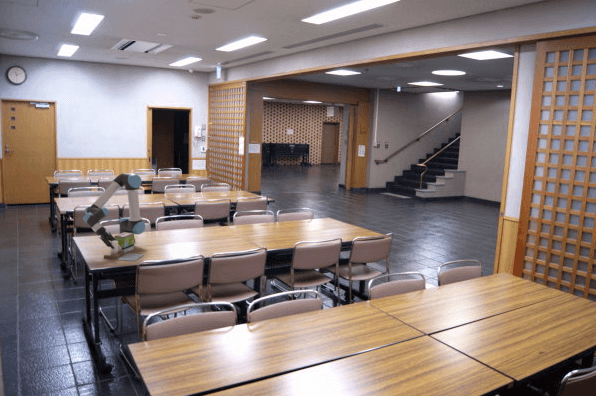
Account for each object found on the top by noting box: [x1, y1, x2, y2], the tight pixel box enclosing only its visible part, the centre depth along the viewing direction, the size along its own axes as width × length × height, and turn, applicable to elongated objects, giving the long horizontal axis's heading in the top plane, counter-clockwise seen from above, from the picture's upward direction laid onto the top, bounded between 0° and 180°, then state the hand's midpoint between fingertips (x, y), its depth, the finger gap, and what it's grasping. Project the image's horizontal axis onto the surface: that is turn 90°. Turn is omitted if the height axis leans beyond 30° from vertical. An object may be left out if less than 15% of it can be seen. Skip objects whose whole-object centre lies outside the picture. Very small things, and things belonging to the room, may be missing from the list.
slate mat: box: [116, 252, 145, 262], centre depth 375 cm, size 18×14×1 cm
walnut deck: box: [103, 251, 126, 260], centre depth 377 cm, size 14×11×2 cm
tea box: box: [113, 232, 135, 254], centre depth 393 cm, size 15×10×15 cm, turn 168°
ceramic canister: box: [110, 241, 118, 254], centre depth 376 cm, size 6×6×10 cm
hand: (118, 250), depth 376 cm, fingers closed on ceramic canister, 5 cm apart
